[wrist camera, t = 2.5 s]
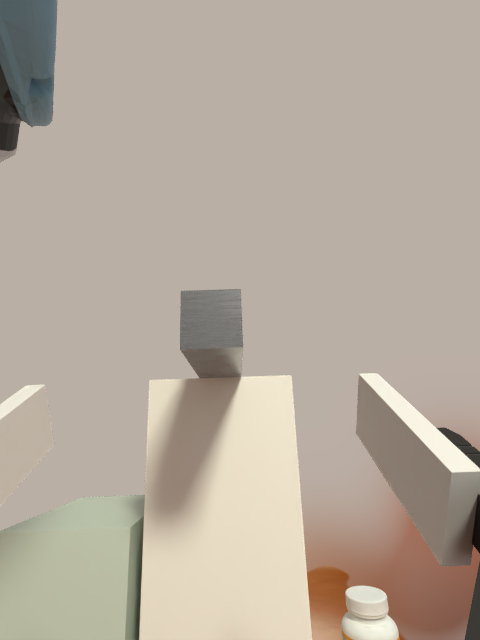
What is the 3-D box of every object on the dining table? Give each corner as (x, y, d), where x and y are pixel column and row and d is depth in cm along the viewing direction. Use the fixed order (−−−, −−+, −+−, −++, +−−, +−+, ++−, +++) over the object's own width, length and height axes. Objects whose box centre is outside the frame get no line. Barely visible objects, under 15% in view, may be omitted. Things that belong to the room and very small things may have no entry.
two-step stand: (329, 873, 22) (291, 375, 31) (-58, 895, 22) (17, 384, 31) (292, 693, 37) (273, 394, 46) (65, 703, 37) (91, 401, 46)
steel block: (242, 347, 20) (240, 289, 21) (180, 349, 20) (181, 290, 21) (240, 398, 49) (239, 372, 50) (214, 399, 49) (213, 373, 50)
